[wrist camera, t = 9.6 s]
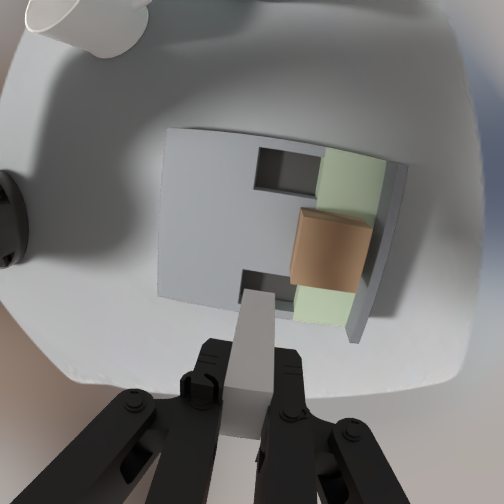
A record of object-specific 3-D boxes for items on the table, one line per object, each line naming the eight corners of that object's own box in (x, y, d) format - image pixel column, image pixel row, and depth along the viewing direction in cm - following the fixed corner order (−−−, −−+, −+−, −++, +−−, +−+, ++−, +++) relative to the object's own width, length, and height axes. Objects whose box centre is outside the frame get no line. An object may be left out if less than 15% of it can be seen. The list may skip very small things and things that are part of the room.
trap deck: (164, 287, 35) (147, 309, 30) (175, 128, 28) (154, 126, 23) (349, 316, 34) (358, 343, 29) (388, 162, 27) (408, 165, 22)
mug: (178, -15, 22) (137, -68, 11) (174, 45, 25) (121, 3, 14) (92, 9, 23) (33, -21, 12) (84, 66, 26) (16, 48, 15)
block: (289, 266, 30) (290, 283, 26) (300, 207, 28) (303, 216, 24) (347, 275, 29) (355, 293, 26) (361, 218, 27) (373, 229, 24)
